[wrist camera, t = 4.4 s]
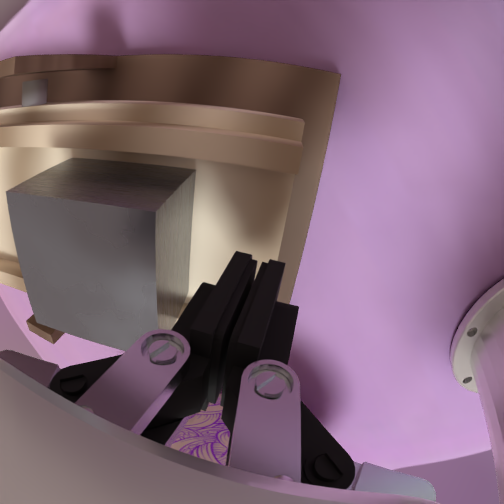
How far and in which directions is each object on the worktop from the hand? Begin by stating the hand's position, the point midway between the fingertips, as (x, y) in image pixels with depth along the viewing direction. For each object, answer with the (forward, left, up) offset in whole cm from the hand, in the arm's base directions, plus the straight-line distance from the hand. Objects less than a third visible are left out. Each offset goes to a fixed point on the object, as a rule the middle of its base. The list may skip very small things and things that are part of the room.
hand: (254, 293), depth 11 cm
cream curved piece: (+13, 0, -2) cm, 13 cm away
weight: (+6, 0, -2) cm, 7 cm away
